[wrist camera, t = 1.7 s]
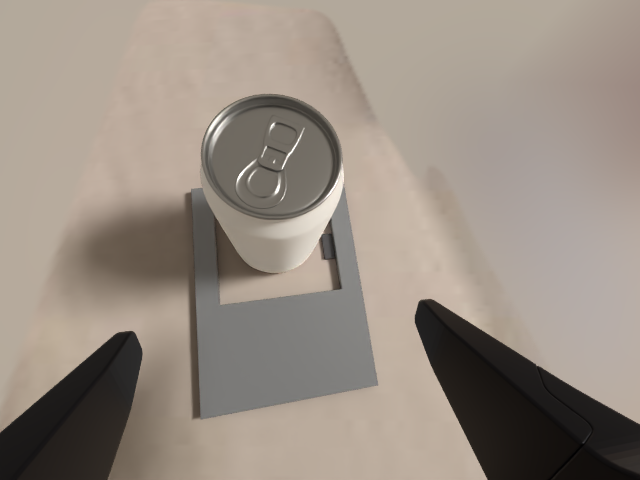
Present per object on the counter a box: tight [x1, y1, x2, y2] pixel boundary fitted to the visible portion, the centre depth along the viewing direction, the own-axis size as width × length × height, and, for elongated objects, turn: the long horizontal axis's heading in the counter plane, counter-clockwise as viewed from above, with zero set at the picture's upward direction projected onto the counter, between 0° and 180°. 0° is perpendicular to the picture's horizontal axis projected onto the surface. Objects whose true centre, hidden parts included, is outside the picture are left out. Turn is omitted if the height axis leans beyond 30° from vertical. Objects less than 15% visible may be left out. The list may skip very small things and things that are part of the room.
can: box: [200, 94, 344, 273], centre depth 18 cm, size 6×6×12 cm
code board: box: [191, 182, 378, 419], centre depth 22 cm, size 16×12×1 cm
